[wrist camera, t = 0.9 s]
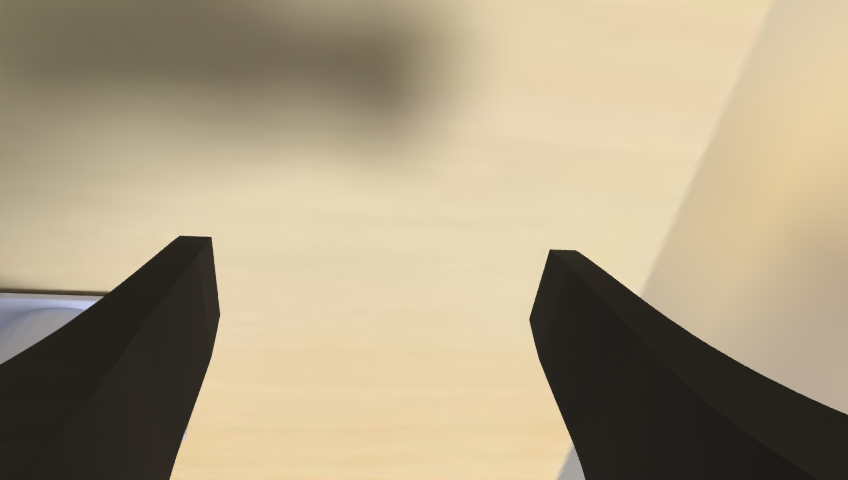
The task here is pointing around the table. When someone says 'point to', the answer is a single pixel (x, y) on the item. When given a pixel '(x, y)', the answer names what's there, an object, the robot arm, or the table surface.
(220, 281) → the table surface
